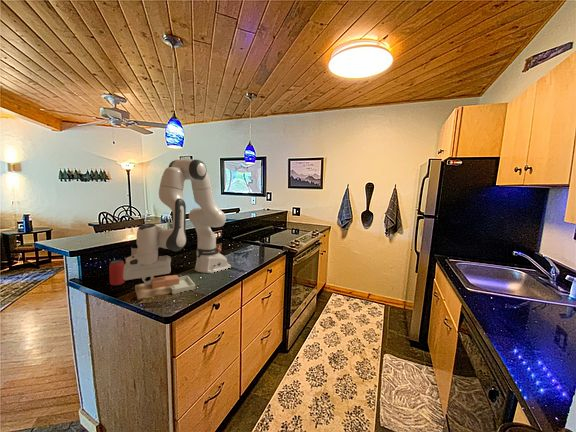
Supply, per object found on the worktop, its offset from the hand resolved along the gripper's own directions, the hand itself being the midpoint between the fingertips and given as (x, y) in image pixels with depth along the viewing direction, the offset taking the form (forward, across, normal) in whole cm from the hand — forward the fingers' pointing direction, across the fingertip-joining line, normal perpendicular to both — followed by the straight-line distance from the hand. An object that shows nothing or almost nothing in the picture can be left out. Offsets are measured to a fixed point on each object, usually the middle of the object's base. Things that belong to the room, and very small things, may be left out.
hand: (147, 285), depth 118 cm
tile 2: (+1, -10, 0) cm, 11 cm away
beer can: (+4, +12, -20) cm, 23 cm away
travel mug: (+4, +2, -28) cm, 28 cm away
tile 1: (+1, -5, 0) cm, 5 cm away
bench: (+4, -2, 0) cm, 5 cm away
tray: (+4, -15, 0) cm, 16 cm away
